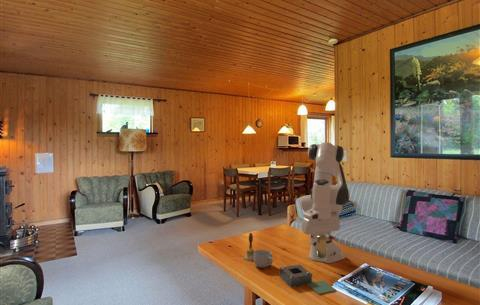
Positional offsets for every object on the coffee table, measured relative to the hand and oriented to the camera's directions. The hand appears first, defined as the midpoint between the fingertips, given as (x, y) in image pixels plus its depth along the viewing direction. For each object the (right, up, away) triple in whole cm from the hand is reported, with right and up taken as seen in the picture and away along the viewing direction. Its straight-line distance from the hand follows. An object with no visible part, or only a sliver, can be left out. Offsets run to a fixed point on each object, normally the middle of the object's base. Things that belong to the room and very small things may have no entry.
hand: (321, 240), depth 134 cm
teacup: (-26, -23, +24) cm, 43 cm away
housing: (-11, -23, +8) cm, 27 cm away
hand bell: (-34, -23, +36) cm, 55 cm away
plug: (0, -8, 0) cm, 8 cm away
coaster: (0, -24, +1) cm, 24 cm away
